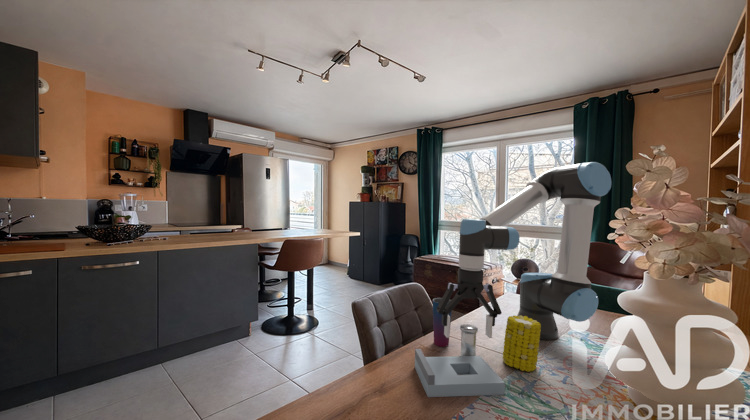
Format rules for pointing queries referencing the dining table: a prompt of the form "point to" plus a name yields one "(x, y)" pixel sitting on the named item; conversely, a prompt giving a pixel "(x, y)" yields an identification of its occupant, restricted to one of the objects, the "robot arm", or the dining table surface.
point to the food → (521, 343)
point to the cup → (439, 325)
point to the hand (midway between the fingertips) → (467, 336)
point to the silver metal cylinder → (468, 340)
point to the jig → (457, 376)
